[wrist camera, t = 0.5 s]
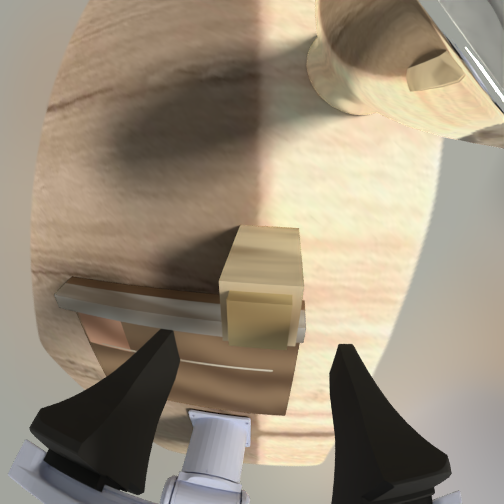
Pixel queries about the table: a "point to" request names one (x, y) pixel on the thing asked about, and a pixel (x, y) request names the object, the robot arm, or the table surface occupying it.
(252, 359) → the board
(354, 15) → the beer glass
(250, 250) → the tan block
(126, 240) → the table surface
